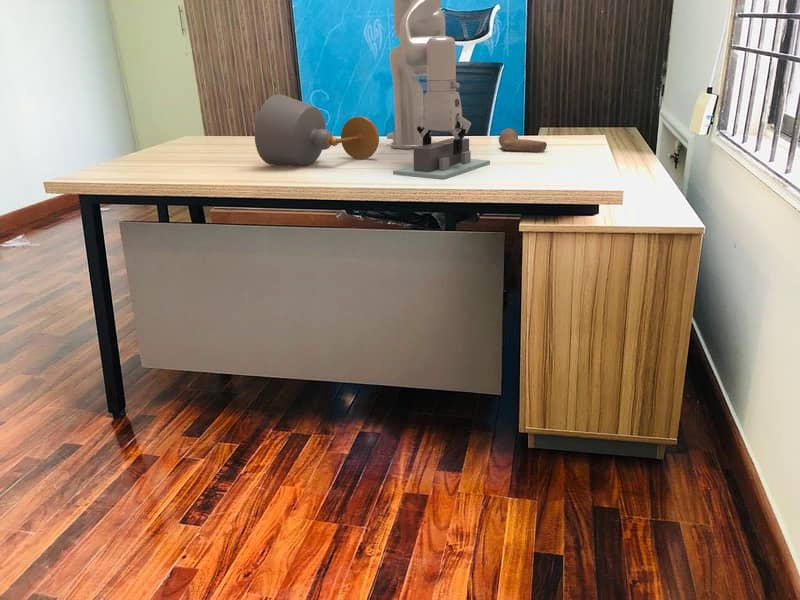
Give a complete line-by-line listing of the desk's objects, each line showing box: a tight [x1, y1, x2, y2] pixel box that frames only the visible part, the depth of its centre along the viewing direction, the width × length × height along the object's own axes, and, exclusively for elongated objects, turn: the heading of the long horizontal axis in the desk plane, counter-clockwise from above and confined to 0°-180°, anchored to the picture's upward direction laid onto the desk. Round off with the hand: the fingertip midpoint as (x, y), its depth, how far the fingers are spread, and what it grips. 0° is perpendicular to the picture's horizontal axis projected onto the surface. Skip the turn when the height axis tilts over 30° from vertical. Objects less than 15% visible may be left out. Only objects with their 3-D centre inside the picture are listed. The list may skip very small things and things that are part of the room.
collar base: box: [392, 150, 491, 180], centre depth 190 cm, size 16×24×4 cm, turn 144°
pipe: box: [498, 127, 548, 153], centre depth 216 cm, size 6×17×10 cm
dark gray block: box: [412, 137, 470, 172], centre depth 190 cm, size 20×5×6 cm, turn 144°
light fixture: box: [254, 93, 380, 167], centre depth 202 cm, size 20×25×27 cm
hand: (442, 152), depth 190 cm, fingers open, 9 cm apart
